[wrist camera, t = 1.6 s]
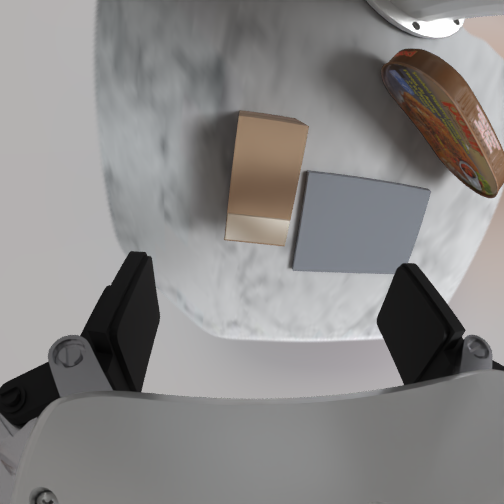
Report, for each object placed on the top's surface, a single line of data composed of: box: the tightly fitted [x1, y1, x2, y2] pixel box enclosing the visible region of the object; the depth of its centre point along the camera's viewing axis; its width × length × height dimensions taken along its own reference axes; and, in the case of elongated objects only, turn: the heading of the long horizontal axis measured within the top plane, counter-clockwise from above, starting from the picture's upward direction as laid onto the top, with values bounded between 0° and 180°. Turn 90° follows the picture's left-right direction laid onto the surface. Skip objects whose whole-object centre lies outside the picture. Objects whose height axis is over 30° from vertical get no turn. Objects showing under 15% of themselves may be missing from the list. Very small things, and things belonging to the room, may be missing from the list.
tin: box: [381, 49, 504, 198], centre depth 18 cm, size 15×3×8 cm, turn 51°
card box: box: [224, 110, 309, 246], centre depth 22 cm, size 9×4×6 cm, turn 172°
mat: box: [292, 171, 431, 274], centre depth 27 cm, size 10×13×1 cm
